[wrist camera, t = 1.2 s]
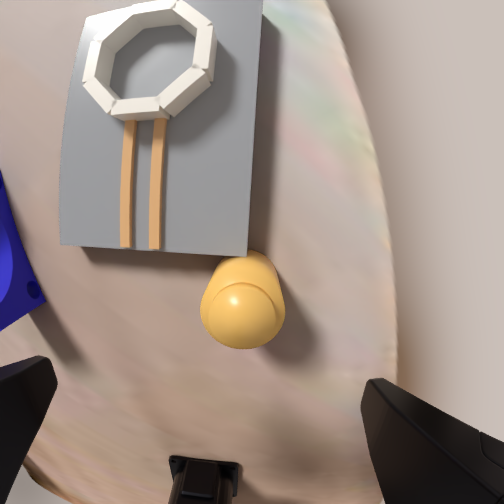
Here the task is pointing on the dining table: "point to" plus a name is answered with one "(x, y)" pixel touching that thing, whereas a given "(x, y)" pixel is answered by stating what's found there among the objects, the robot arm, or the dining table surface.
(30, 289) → the cable clip
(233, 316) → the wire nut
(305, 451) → the dining table surface
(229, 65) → the plate
